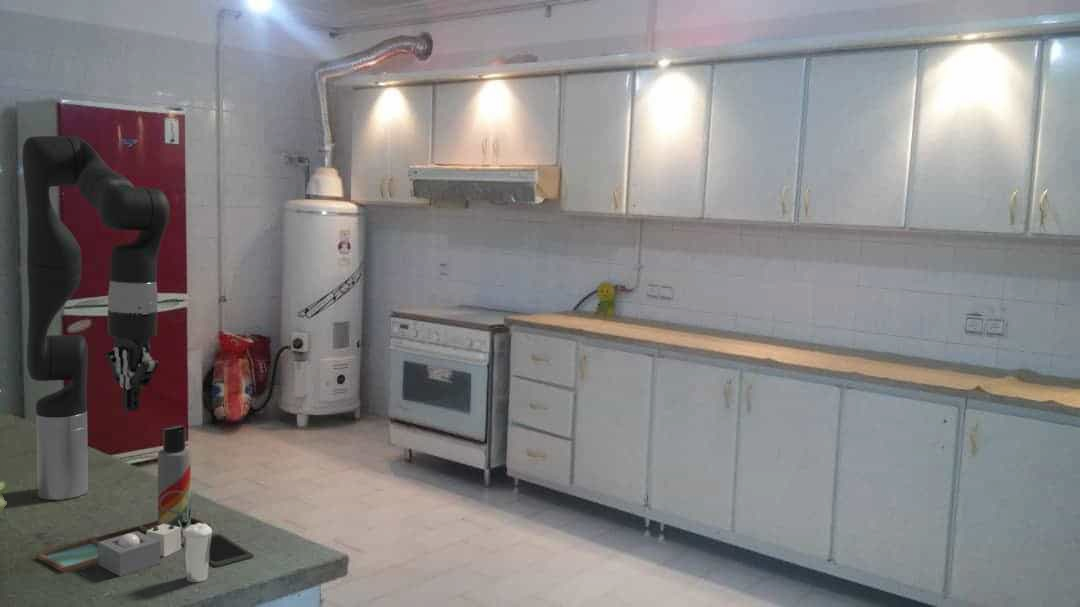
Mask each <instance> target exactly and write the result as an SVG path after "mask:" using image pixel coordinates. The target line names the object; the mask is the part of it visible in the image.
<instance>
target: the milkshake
mask: <svg viewBox="0 0 1080 607" xmlns="http://www.w3.org/2000/svg"><path fill="white" fill-rule="evenodd" d="M178 522H179V524H180V527H181V529H182V531H183V537H182V540H183V542H184V546H183V548H184V554H185V555H184V556H185V569H186V581H187V582H190V583H201V582H203V581H206V580H207V579H208V577H209V567H210V566H209V565H210V564H209V554H210V546H211V537H212V535H213V529H212V527H211V528H210V527H209V526H208V525H207V524H202V523H197V524H196V523H194V524H190V526H189V527H187V528H186V529H185V530H183V528H182V525H181V523H180V521H179V520H178Z"/></svg>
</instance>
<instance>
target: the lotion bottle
mask: <svg viewBox="0 0 1080 607" xmlns="http://www.w3.org/2000/svg"><path fill="white" fill-rule="evenodd" d="M162 434H163V442H162V443H163V444H162V445H163V446H162V449H161V450H159V451H158V453H157V520H158V525H157V526H159V525H161V524H167V525H173V526H177V527H180V524H179V522H178V520H179V521H180V523H181V525H182V528H183V530H185V529H186V528H187V527H189V526H190V525H191V521H190V516H191V471H192V470H191V461H192V460H191V459H192V458H191V450H190V449H189V448H186V427H185V426H184V425H182V424H181V425H180V424H178V425H177V424H176V425H171V426H168V427H166V428H163V433H162ZM181 532H182V529H181Z"/></svg>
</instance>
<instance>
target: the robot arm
mask: <svg viewBox="0 0 1080 607" xmlns="http://www.w3.org/2000/svg"><path fill="white" fill-rule="evenodd" d="M22 146H23V148H22V170H23V171H22V173H23V182H24V190H25V200H26V201H25V203H26V213H27V217H26V218H27V245H26V246H27V247H26V249H27V250H26V251H27V252H26V260H27V264H26V265H27V269H26V272H27V273H26V274H27V287H28V288H27V289H28V305H29V306H28V308H29V309H28V311H29V312H28V329H27V330H28V332H27V347H26V348H27V349H26V366H27V371H28V375H29V377H30V378H31V379H32V380H33V381H37V382H48V381H49V382H50V381H51V382H52V381H69V383H68V384H67V385H66V386H65V387H63V388H62V389H59V390H57V391H55V392H53V393H49V394H47V395H45V396H43V397H41V398H39V399H38V400H37V401H36V405H35V407H36V408H35V409H36V410H35V412H36V419H35V420H36V421H35V422H36V479H37V480H36V481H37V482H36V484H37V496H38V497H39V498H40V499H42V500H48V501H49V500H50V501H54V500H55V501H57V500H59V501H60V500H67V499H68V500H69V499H73V498H77V497H81V496H83V495H85V494H87V492H89V491H88V490H89V469H88V468H89V466H88V464H89V463H88V460H89V458H88V457H89V456H88V453H89V450H88V448H89V446H88V397H87V395H88V394H87V392H88V390H87V384H88V383H87V382H88V364H89V362H88V361H89V349H88V348H89V347H88V342H87V340H86V338H85V337H84V335H81V334H58V335H57V334H54V335H48V334H47V333H48V331H49V328H50V326H51V324H52V321H53V320H54V318H56V317H55V316H56V315H57V314H58V312H59V311H60V310H61V309H62V307H63V306H65V304H66V303H67V302H68V301H69V299H71V297H72V296H73V294H74V293H75V292H76V290H77V288H78V287H79V285H80V283H81V281H82V280H81V279H82V250H81V246H80V244H79V242H78V241H77V239H76V237H75V236H74V235H73V233H72V232H71V231H70V230H69V229H68V227H67V226H66V225H65V224H64V223H63V221H62V220H61V219H60V218H59V215H58V214H57V212H56V210H55V209H54V208H53V205H52V203H51V199H50V198H51V197H50V188H51V187H69V186H77V187H78V191H79V194H80V195H81V197H82V198H83V199H84V201H86V202H87V203H88V204H90V206H92V207H94V208H95V209H96V210H97V212H98V214H99V218H100V220H101V223H102V224H103V225H104V226H106V227H108V228H110V229H112V230H113V229H114V230H119V231H139V234H138V235H137V237H136V239H135V240H134V241H132V242H128V243H123V244H118V245H115V246H113V248H112V249H111V250H110V255H109V257H110V258H109V259H110V261H109V263H110V265H109V268H110V269H109V286H108V293H107V327H106V328H107V331H106V332H107V335H108V337H110V338H113V339H114V342H113V349H110V350H109V349H108V350H106V351H105V356H106V360H107V362H108V365H109V369H110V371H111V374H112V376H113V379H114V382H115V383H119V386H120V388H121V389H122V398H121V400H122V402H121V404H122V406H121V408H122V410H123V411H124V410H125V411H127V412H133V411H138V410H139V409H140V399H141V398H140V397H141V396H140V395H141V394H140V393H141V388H144V387H148V386H149V384H150V383H151V381H152V379H153V378H154V376H155V374H156V372H157V370H158V368H159V365H160V364H159V363H160V362H159V360H158V359H153V357H151V351H152V348H151V344H150V339H151V338H154V337H156V336H157V334H158V310H159V309H158V307H159V306H158V304H159V303H158V302H159V298H158V297H159V295H158V287H157V286H158V284H157V277H158V276H157V275H158V274H157V272H158V257H159V253H160V248H161V244H162V241H163V238H164V235H165V231H166V229H167V226H168V223H169V220H170V216H171V206H170V202H169V199H168V197H167V196H166V195H165V193H164V191H162V190H161V189H156V188H153V187H152V188H151V187H139V186H138V187H137V186H134V184H133V183H132V182H131V181H130V180H129V179H128V178H126V177H125V176H123V175H121V174H120V173H118V172H117V171H115V170H113V169H112V168H110V166H108V165H107V164H106V162H105V161H104V160H103V158H102V157H101V156H100V154H99V153H97V151H96V150H95V149H94V148H93V147H92V145H90V143H89V142H87V141H86V140H85V139H83V138H81V137H79V136H75V135H41V136H39V135H37V136H30V137H28V138H27V139H26V140H25V141H24V144H23V145H22Z"/></svg>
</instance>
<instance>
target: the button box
mask: <svg viewBox="0 0 1080 607" xmlns="http://www.w3.org/2000/svg"><path fill="white" fill-rule="evenodd" d="M128 534H135V535H136V536H138V538H139V540H140V544H136V545H133V546H130V547H126V548H123V547H121V546H118V542H119V540H120V538H121V537H122V536H124V535H121V536H118V537H114V538H111V539H107V540H104V541H100V542H98V563H97V565H98V566H100V567H102V568H104V569H105V570H107V571H108V572H111V573H113V574H115V575H117V576H119V577H124V576H126V575H129V574H132V573H135V572H138V571H142V570H145V569H147V568H151V567H153V566H157V565H160V564H161V558H160V557H161V556H160V541H158V540H156V539H154V538H152V537H149V536H147V535H146V534H145V533H143V532H141V531H135V532H132V533H128Z"/></svg>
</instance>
